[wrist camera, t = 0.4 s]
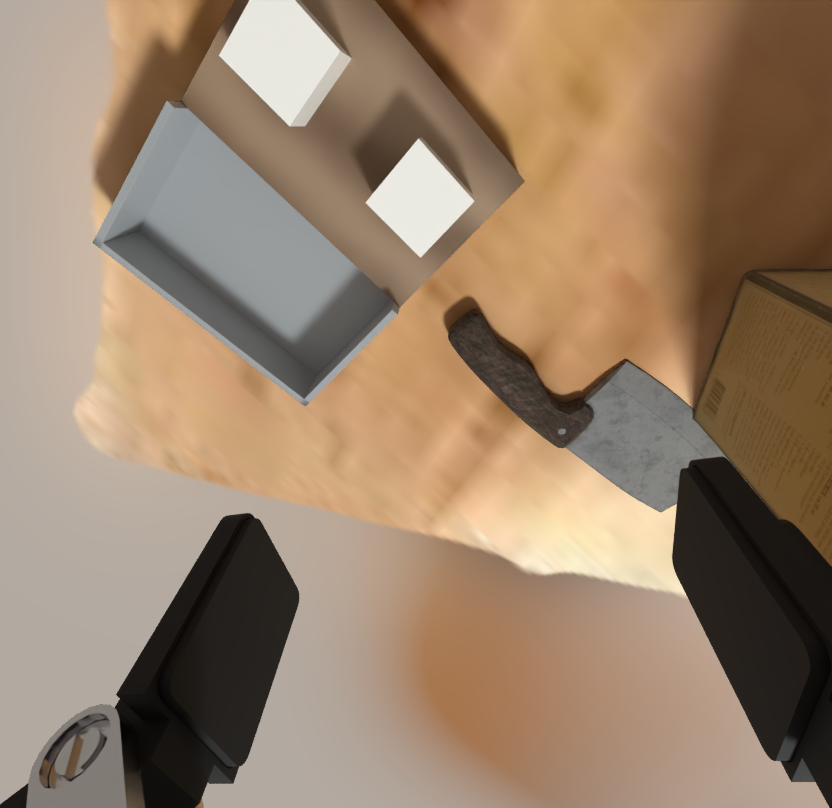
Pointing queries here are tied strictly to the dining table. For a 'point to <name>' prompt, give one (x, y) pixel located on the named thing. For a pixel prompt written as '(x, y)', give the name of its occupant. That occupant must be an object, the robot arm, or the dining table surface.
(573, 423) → the cleaver
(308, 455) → the dining table surface
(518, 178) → the board
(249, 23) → the white rectangular block
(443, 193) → the tile
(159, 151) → the tray
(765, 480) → the food packaging
